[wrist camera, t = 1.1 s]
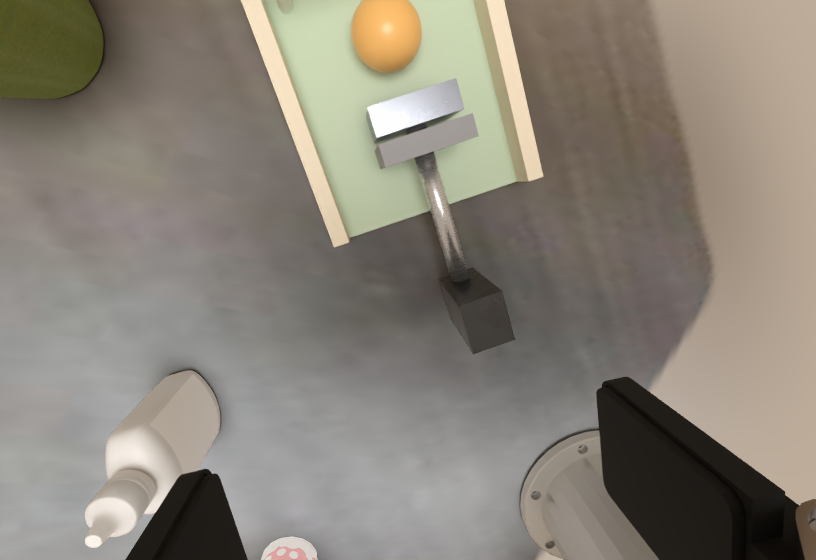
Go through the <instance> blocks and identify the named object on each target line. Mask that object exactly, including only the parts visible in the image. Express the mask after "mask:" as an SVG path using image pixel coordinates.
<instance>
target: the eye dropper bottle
mask: <svg viewBox="0 0 816 560" xmlns="http://www.w3.org/2000/svg"><path fill="white" fill-rule="evenodd" d="M219 430H220V410H219V406H218V402H217V400H216V397H215V395H214V393H213V391H212V390H211V388H210V387H209V385H208V384H207V383H206V382H205V380H204V379H203V378H202V377H201V376H200V375H199V374H197V373H196V372H194V371H183V372H179V373H176V374H172V375H169V376H167V377H165V378H164V379H163V380H162V381H161V382H160V383H159V384H158V385H157V386H156V387H155V388H154V389H153V390H152V391H151V392H150V393H149V394H148V395H147V396H146V397H145V398H144V399H143V400H142V401H141V402H140V404H139V405H138V406H137V407H136V408H135V409H134V410H133V411H132V412H131V413H130V414H129V415H128V416H127V417H126V418H125V419H124V420H123V421H122V422H121V423H120V425H119V426H118V427H117V428H116V429H115V430H114V431H113V432H112V434H111V435H110V437H109V439H108V441H107V446H106V471H107V476H108V482H107V483H106V484H105V485H104V486H103V488H102V489H101V490H100V491H99V493H98V494H97V495H96V496H95V497H94V499H93V500H92V501H91V502H90V503H89V505H88V506H87V508H86V511H85V520H86V523H87V524H88V526H89V527H90V528H91V529H90V531H89V533H88V535H87V537H86V539H85V543H86V545H87V546H89V547H92V548H96V547H99V546H100V545H101V544H102V543H103V542H104V541H105V540H106V539H107V538H108V537H117V536H122V535H125V534H127V533H128V532H130V531H131V530H132V529H133V528H134V527H135V526H136V524H137V523H138V521H139V520H140V518H141V517H142V515H143V514H153V513H156V511H157V510H158V508H159V506H160V505H161V503H162V502H163V500H164V499H165V497H166V495H167V494H168V492H169V491H170V489H171V488H172V486H173V485H174V483H175V481H176V480H177V478H178V477H179V476H180V475H182V474H185V473H190V472H194V471H198V469H199V467H200V465H201V464H202V462H203V460H204V458H205V456H206V455H207V453H208V451H209V449H210V447H211V446H212V444H213V442H214V440H215V438H216V437H217V435H218V433H219Z"/></svg>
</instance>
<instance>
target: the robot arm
mask: <svg viewBox="0 0 816 560" xmlns="http://www.w3.org/2000/svg"><path fill="white" fill-rule="evenodd" d="M597 408H598V421H599V430H597V431H590V432H584V433H581V434H578V435H575V436H572V437H570V438H568V439H566V440H564V441H562V442H560V443H558V444H557V445H555V446H554V447H553V448H551V449H550V450H548V451H547V452H546V453H545V454H544V455H543V456H542V457H541V458H540V459H539V460H538V461H537V462H536V464H535V465H534V467H533V468H532V469H531V471H530V472H529V474H528V476H527V478H526V481H525V483H524V486H523V489H522V493H521V503H520V508H521V514H522V519H523V521H524V523H525V526H526V528H527V530H528V532H529V534H530V536H531V537H532V539H533V541H534V542H535V543H536V544H537V545H538V546H539V547H540V548H541V549H543V550H545V551H546V552H548V553H549V554H551V555H554V556H557V557H559V558H563V560H816V499H812V500H809V501H806V502H804V503H801V505H800V506H799V505H798V504H796V503H795V502H794V501H792V500H791V499H790V498H788V497H787V496H786V495H785V491H783V490H782V489H781V488H779V487H778V486H777V485H775V484H774V483H772V482H771V481H770V480H768V479H767V478H766V477H764V476H763V475H762V474H760V473H759V472H757V471H756V470H755V469H753V468H752V467H751V466H749V465H748V464H747V463H745V462H744V461H742V460H741V459H739V458H738V457H737V456H736V455H734V454H733V453H732V452H730V451H729V450H727V449H726V448H725V447H723V446H722V445H721V444H719V443H718V442H717V441H715V440H714V439H713V438H711V437H710V436H708V435H707V434H706V433H704V432H703V431H702V430H700V429H699V428H698V427H696V426H695V425H694V424H692V423H691V422H689V421H688V420H687V419H685V418H684V417H683V416H681V415H680V414H678V413H677V412H676V411H674V410H673V409H672V408H670V407H669V406H668V405H666V404H665V403H664V402H662V401H661V400H659V399H658V398H657V397H655V396H654V395H653V394H651V393H650V392H649V391H647V390H646V389H644V388H643V387H642V386H640V385H639V384H638V383H636V382H635V381H634V380H632V379H631V378H629V377H622V378H618V379H613V380H608V381H604V382H603V384H602V388H600V389H598V390H597ZM126 560H248V559H247V556H246V553H245V551H244V548H243V545H242V542H241V539H240V536H239V533H238V530H237V527H236V524H235V521H234V518H233V515H232V512H231V510H230V507H229V504H228V501H227V498H226V495H225V492H224V489H223V486H222V483H221V480H220V478H219V476H218V475H217V474H212V473H211V472H210V471H209V470H208V469H203V470H199V471H194V472H190V473H185V474H182V475H180V476H179V477H178V478H177V480H176V481H175V483H174V485H173V486H172V488H171V489H170V491H169V492H168V494H167V495H166V497H165V499H164V500H163V502H162V503H161V505H160V506H159V508H158V510H157V511H156V513H155V514H154V516H153V517H152V519H151V521H150V522H149V524H148V525H147V527H146V528H145V530H144V532H143V533H142V535H141V536H140V538H139V539H138V541H137V542H136V544H135V546H134V547H133V549H132V550H131V552H130V553H129V555H128V557H127V558H126Z"/></svg>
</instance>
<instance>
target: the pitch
mask: <svg viewBox="0 0 816 560" xmlns="http://www.w3.org/2000/svg"><path fill="white" fill-rule="evenodd" d="M241 1H242V4H243V7H244V9H245V12H246V15H247V17H248V20H249V23H250V25H251V28H252V31H253V33H254V36H255V39H256V41H257V44H258V47H259V49H260V52H261V55H262V57H263V60H264V63H265V65H266V68H267V70H268V73H269V76H270V78H271V81H272V84H273V86H274V89H275V92H276V94H277V97H278V100H279V102H280V105H281V108H282V110H283V113H284V116H285V118H286V121H287V124H288V126H289V129H290V132H291V134H292V137H293V140H294V142H295V145H296V148H297V150H298V153H299V155H300V158H301V161H302V163H303V166H304V169H305V171H306V174H307V177H308V179H309V182H310V185H311V187H312V190H313V193H314V195H315V198H316V201H317V203H318V206H319V209H320V211H321V214H322V217H323V219H324V222H325V225H326V227H327V230H328V233H329V235H330V238H331V240H332V243H333V246H334V247H337V246H340V245H343V244H346V243H349V241H350V238H351V237H354V236H357V235H360V234H363V233H366V232H369V231H372V230H375V229H378V228H380V227H383V226H386V225H389V224H392V223H395V222H398V221H401V220H404V219H407V218H410V217H413V216H416V215H419V214H422V213H425V212H428V211H430V208H429V204H428V201H427V198H426V195H425V191H424V188H423V185H422V181H421V178H420V175H419V172H418V168H417V165H416V162H415V157H418V156H421V155H424V154H427V153H430V152H433V151H434V155H435V158H436V162H437V165H438V168H439V172H440V175H441V179H442V182H443V186H444V189H445V193H446V196H447V199H448V203H449V204H451V203H454V202H457V201H460V200H463V199H466V198H469V197H472V196H475V195H478V194H481V193H484V192H487V191H490V190H493V189H496V188H499V187H502V186H505V185H508V184H511V183H514V182H517V181H524V182H529V181H532V180H535V179H538V178H541V177H543V173H542V168H541V164H540V159H539V155H538V150H537V146H536V142H535V137H534V133H533V128H532V124H531V119H530V115H529V110H528V106H527V101H526V97H525V92H524V88H523V83H522V79H521V75H520V70H519V66H518V61H517V57H516V52H515V48H514V43H513V39H512V34H511V30H510V25H509V21H508V16H507V12H506V8H505V3H504V0H409V1H410V2H411V3H412V5H413V6H414V7H415V9H416V11H417V13H418V15H419V18H420V22H421V27H422V39H421V44H420V48H419V50H418V53H417V54H416V56H415V58H414V59H413V60H412V62H411V63H410V64H409V65H408V66H406V67H405V68H403V69H402V70H399V71H397V72H393V73H382V72H378V71H375V70H373V69H371V68H370V67H368V66H367V65H366V64H364V63H363V62H362V60H361V59H360V58H359V56H358V55H357V53H356V51H355V49H354V46H353V43H352V39H351V22H352V18H353V15H354V12H355V10H356V8H357V7H358V5H359V4H360V2H361V1H362V0H241ZM454 78H456V79H457V83H458V87H459V91H460V94H461V98H462V102H463V106H464V109H463V110H462V111H460V112H459V113H457V114H455V115H454V116H452V117H451V118H449V119H447V120H444V121H441V122H438V123H435V124H432V125H429V126H426V127H427V128H426V129H423V130H420V131H417V132H414V133H411V134H408V135H407V133H405V134H402V135H399V136H395V137H392V138H389V139H386V140H383V141H380V142H377V143H374V141H373V138H372V135H371V132H370V129H369V126H368V123H367V120H366V112H367V107H369V106H372V105H375V104H378V103H381V102H384V101H387V100H390V99H394V98H397V97H400V96H403V95H406V94H409V93H412V92H415V91H418V90H421V89H424V88H427V87H430V86H433V85H436V84H439V83H442V82H445V81H448V80H451V79H454Z"/></svg>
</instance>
